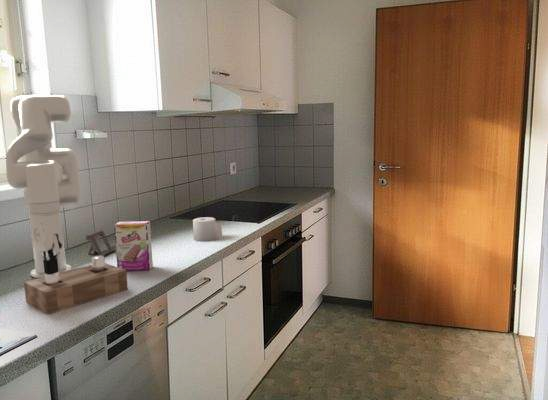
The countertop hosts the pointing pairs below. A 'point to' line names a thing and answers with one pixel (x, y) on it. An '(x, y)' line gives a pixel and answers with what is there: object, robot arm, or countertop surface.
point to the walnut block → (75, 288)
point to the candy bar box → (133, 245)
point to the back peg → (98, 264)
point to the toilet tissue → (206, 229)
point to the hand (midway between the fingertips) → (51, 272)
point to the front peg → (52, 278)
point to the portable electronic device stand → (95, 240)
